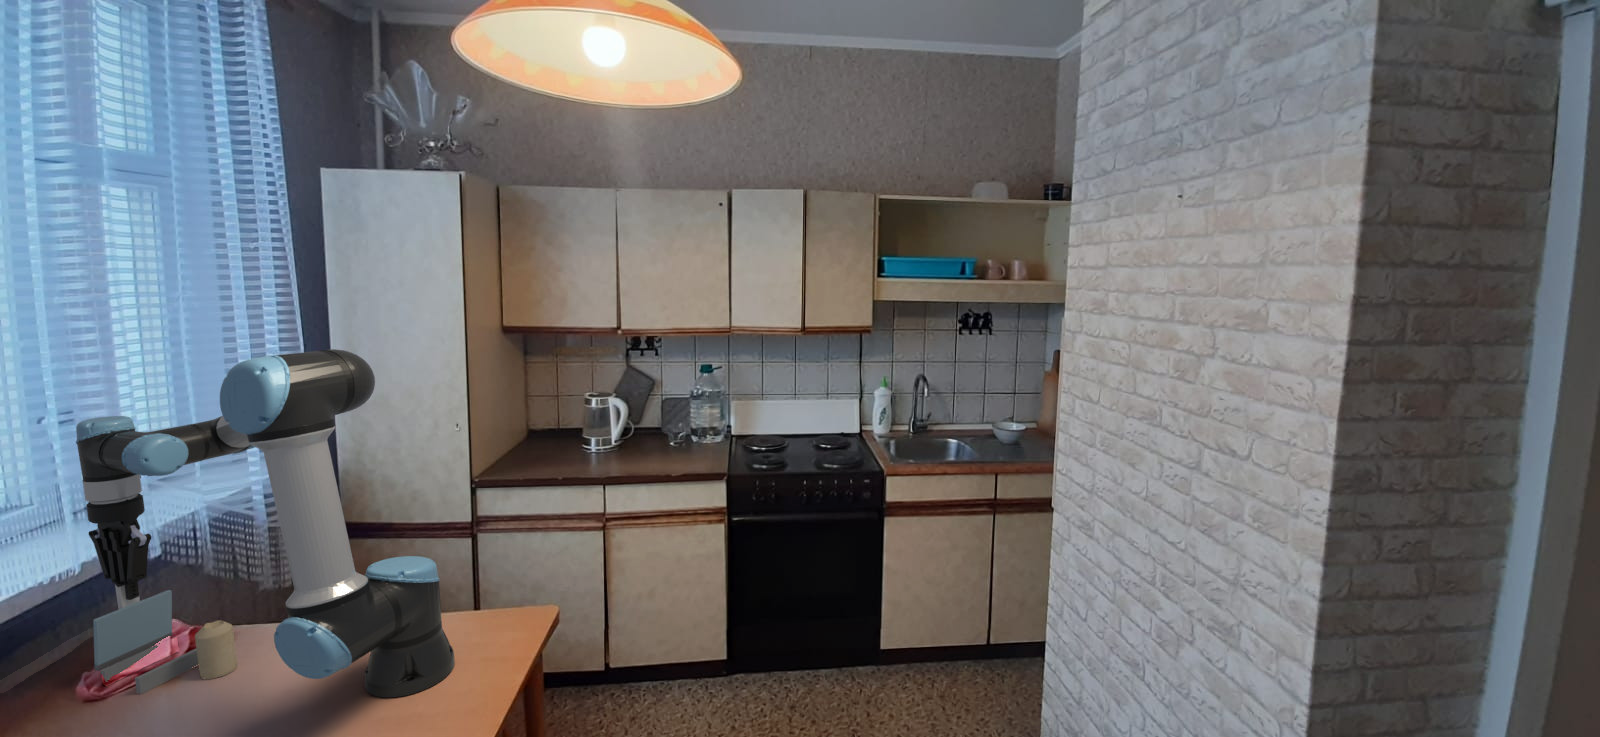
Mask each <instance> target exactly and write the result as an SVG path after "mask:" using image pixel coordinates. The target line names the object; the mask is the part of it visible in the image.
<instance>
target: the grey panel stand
mask: <svg viewBox="0 0 1600 737" xmlns="http://www.w3.org/2000/svg"><path fill="white" fill-rule="evenodd" d="M157 647H158V646H157V645H156V646H153V647H151V648H148V649H146V650H144V651H142V652H140V653H137V654H135V655H133V656H131V657H129V658H127V659H124V660H122V661H120V662H118V663H116V664H113V665H111V666H109V667H107V668H105V669H102V670H100V671H99V673H100V675H101V674H102V675H103V677H104V679H105V681H106V682H108V681H107V680H110V678H111V677H112V676H114V675H116V674H119V673H120V672H122V671H123V670H125V669H127V668H128V667H130V666H131V665H133V664H134V663H136V662H137V661H139V660H140V659H141V658H143V657H144V656H146V655H147V654H149V653H150V652H151V651H152V650H154V649H155V648H157ZM196 665H198V657H197V649H196V648H194V649H192V650H190V651H188V652H186V653H184V654H181V655H179V656H178V657H176V658H173V659H170V660H169V661H167V662H165V663H163V664H161V665H159V666H157V667H155V668H153V669H150V670H149V671H147V672H144V673H143V674H141V675H138V676H136V677H134V681H135V689H136V694H138V695H143V694H145V693H146V692H148V691H150V690H153V689H154V688H156V687H158V686H160V685H162V684H165V683H167V681H170V680H171V679H174V678H176V677H178V676H180V675H182V674H184V673H186V672H188V671H190V670H192V669H193V668H192V667H194V666H196ZM198 666H199V665H198ZM196 667H197V666H196ZM191 668H192V669H191ZM194 668H195V667H194ZM189 669H190V670H189ZM187 670H188V671H187ZM185 671H186V672H185ZM183 672H184V673H183ZM181 673H182V674H181ZM179 674H180V675H179ZM177 675H178V676H177Z"/></svg>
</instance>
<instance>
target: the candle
mask: <svg viewBox="0 0 1600 737" xmlns="http://www.w3.org/2000/svg"><path fill="white" fill-rule="evenodd" d="M194 640H195V642H194V643H195V649H197V657H198V664H199V665H198V669H199V670H198V672H199V677H200V676H201V677H200V678H201V679H202V678H205V679H204V680H213V679H212V678H215V679H218V678H217V677H219V678H222V677H224V675H225V676H227V675H229V674H230V673H232V672H234V671H235V670H236V669H237V667H238V660H237V659H238V658H237V651H236V644H235V635H234V627H233V625H232V624H231V623H229V622H227V621H224V620H221V619H220V620H218V619H217V620H215V621H212V622H206V623H205V624H204V625H203V626H202V627H201V628H200V629H199V630H198V631H197V632H196V633H195V635H194ZM221 676H222V677H221Z"/></svg>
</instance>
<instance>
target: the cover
mask: <svg viewBox="0 0 1600 737" xmlns="http://www.w3.org/2000/svg"><path fill="white" fill-rule="evenodd" d="M172 591H173V590H171V589H167V590H164V591H162V592H159V593H157V594H155V595H153V596H152V595H151V596H150V597H147V598H144V599H141V600H140V601H139V602H137V603H134V604H132V605H129V606H127V607H124V608H122V609H117V610H114V611H112V612H109V613H106V614H104V615H101V616H99V617H97V618H94V619H93V620H92V621H93V623H92V624H93V651H94V652H93V656H94V659H93V660H94V665H93V666H94V669H93V670H94V671H96V672H100V670H103V669H105V668H107V667H109V666H111V665H114V664H116V663H118V662H120V661H122V660H125V659H127V658H129V657H131V656H133V655H135V654H138V653H140V652H142V651H144V650H146V649H149V648H151V647H152V646H154V645H155V644H156V643H158V642H159V641H161V640H162V639H164V638H166V637H168V636H172V637H173V610H172V609H173V596H172V594H173V592H172Z"/></svg>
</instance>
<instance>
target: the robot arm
mask: <svg viewBox="0 0 1600 737" xmlns="http://www.w3.org/2000/svg"><path fill="white" fill-rule="evenodd" d="M226 374H227V375H226V376H225V377H224V379H223V380H222V383H221V386H220V391H219V407H220V412H221V414H222V415H221V416H219V417H216V418H214V419H210V420H206V421H201V422H196V423H190V424H184V425H178V426H173V427H168V428H164V429H157V430H153V431H152V430H151V431H137V430H136V426H135V425H134V424H135V423H134V420H133V419H132V418H131V417H130V416H126V415H112V416H100V417H93V418H89V419H85V420H82V421H80V422H79V423H77V424H76V427H75V428H76V429H75V431H76V441H75V444H76V445H77V452H78V458H79V463H80V470H81V476H82V488H83V494H84V501H86V502H87V503H86V505H85V507H86V513H87V514H86V515H87V519H88V522H89V523H91V524H97V525H96V526H97V528H96V529H94V530H89V531H88V536H89V538H90V539H91V541H92V543H93V546H94V549H95V552H96V555H97V558H98V561H99V563H100V567H101V571H102V574H103V577H104V579H105V580H111V581H110V582H111V583H112V585H113V584H114V586H115V593H116V594H115V596H116V601H117V607H118V609H117V610H119V609H122V608H124V607H127V606H129V605H132V604H134V603H137V602H139V601H141V600H140V591H139V583H138V582H139V581H140V580H143V579H147V576H148V575H147V574H148V562H149V561H148V558H149V544H150V542H151V540H152V535H151V533H146V534H144V533H142V532H141V531H140V530H141V526H140V524H139V521H138V518H139V516H141V515H143V514H144V513H145V503H144V502H145V500H144V495H142V494H141V492H142V490H143V489H142V482H141V479H142V476H147V477H160V476H161V477H162V476H168V475H171V474H174V473H175V472H176V471H178V470H180V469H181V468H183V467H184V466H185V465H191V464H194V463H198V462H202V461H205V460H206V461H207V460H211V459H215V458H219V457H224V456H228V455H232V454H239V453H242V452H246V451H248V450H252V449H254V448H256V449H259V450H260V451H261V452H263V455H264V456H263V457H264V460H265V464H266V470H267V474H268V479H269V482H270V486H271V492H272V495H273V500H274V504H275V508H276V512H277V513H276V514H277V519H278V522H279V528H280V531H281V532H280V533H281V535H282V540H283V545H284V549H285V554H286V558H287V563H288V568H289V571H290V576H291V579H292V580H291V581H292V585H293V588H294V590H293V592H292V594H290V596H289V597H288V598H287V600H286V601H285V608H286V612H287V618H285V619H283V620H282V621H281V622H280V623H279V624H278V625H277V627H276V628H275V631H274V634H273V641H274V646H275V649H276V651H277V653H278V655H279V657H280V659H281V660H282V661H283V662H284V664H285V665H286V666H287V667H288V668H289V669H291V670H292V671H294V672H295V673H296V674H297V675H300V676H302V677H303V678H307V679H312V680H321V679H324V678H328V677H330V676H331V675H333V674H335V673H338V672H339V671H340V670H344V669H346V668H348V667H350V666H351V664H353V663H355V662H356V661H358V660H359V659H361V658H363V657H364V656H366V655H368V654H370V655H369V658H368V663H367V667H366V668H365V671H364V676H363V677H364V688H365V690H366V692H367V693H369V694H370V695H371V696H375V697H379V698H399V697H404V696H409V695H412V694H413V695H414V694H416V693H419V692H422V691H424V690H427V689H430V688H431V687H433V686H435V685H437V684H438V683H440V682H442V681H443V680H444V679H446V678H447V677H448V676H449V675H450V674H451V672H452V671H453V669H454V667H455V663H456V660H455V651H454V648H453V647H452V646H451V644H450V640H449V639H448V637H447V634H446V633H445V631H444V629H443V624H442V622H443V621H442V608H441V594H440V593H441V592H440V591H441V589H440V588H441V587H440V579H441V578H440V576H439V574H438V568H437V567H438V566H437V563H436V562H435V561H434V560H433V559H432V558H429V557H424V556H420V555H419V556H416V555H408V556H407V555H406V556H405V555H404V556H396V557H395V556H394V557H391V558H390V557H389V558H385V559H382V560H379V561H376V562H373V563H372V564H370V565H368V567H367V568H366V570H365V574H361V573H359V572H357V571H356V569H355V564H354V563H355V562H354V558H353V555H352V549H351V544H350V540H349V535H348V531H347V526H346V521H345V517H344V512H343V508H342V507H343V506H342V503H341V502H342V501H341V499H340V493H339V487H338V484H337V479H336V475H335V470H334V464H333V459H332V456H331V452H330V447H329V442H328V439H329V437H330V436H331V434H332V433H333V432H334V430H335V429H336V422H335V418H334V416H336V415H341V414H345V413H348V412H351V411H354V410H356V409H358V408H360V407H361V406H363V405H364V404H366V403H367V402H368V401H369V399H370V398H371V397H372V396H373V393H374V390H375V385H376V379H375V378H376V377H375V373H374V371H373V369H372V367H371V366H370V364H369V363H368V362H367V361H366V360H365V359H364V358H363V357H360V356H359V355H358V354H356V353H354V352H352V351H348V350H343V349H334V348H333V349H322V350H315V351H314V350H313V351H305V352H298V353H297V352H296V353H285V354H276V355H266V356H262V357H256V358H250V359H246V360H244V361H241V362H238V363H237V364H236V365H234V366H233V367H232V368H231V369H230V370H229V371H228V372H227V373H226Z"/></svg>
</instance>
